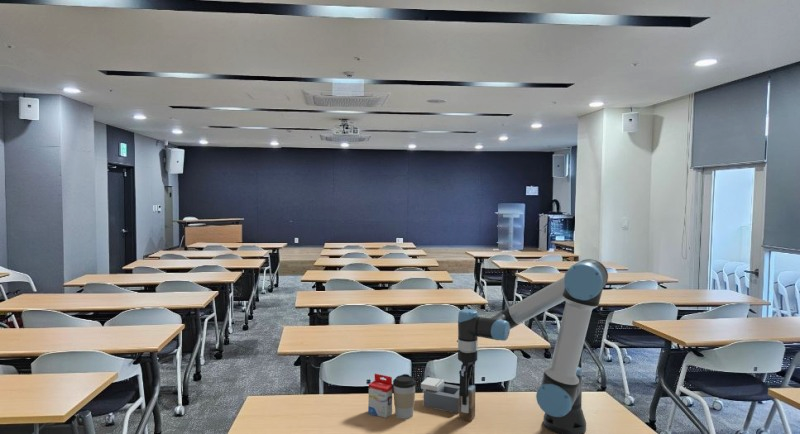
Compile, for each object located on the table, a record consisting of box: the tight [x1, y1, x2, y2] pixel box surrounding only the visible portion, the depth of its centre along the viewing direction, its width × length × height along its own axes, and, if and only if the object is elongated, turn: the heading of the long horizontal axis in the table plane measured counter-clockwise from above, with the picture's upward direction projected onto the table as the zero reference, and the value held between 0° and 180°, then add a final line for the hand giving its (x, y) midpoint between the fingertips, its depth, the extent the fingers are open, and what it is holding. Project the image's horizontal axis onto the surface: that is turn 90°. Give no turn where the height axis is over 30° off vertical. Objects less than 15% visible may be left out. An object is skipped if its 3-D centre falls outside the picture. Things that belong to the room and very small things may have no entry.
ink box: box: [367, 373, 394, 419], centre depth 182 cm, size 8×5×15 cm, turn 62°
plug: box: [458, 385, 476, 422], centre depth 179 cm, size 5×5×12 cm
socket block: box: [423, 382, 460, 414], centre depth 191 cm, size 15×12×6 cm
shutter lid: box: [420, 376, 445, 392], centre depth 193 cm, size 7×8×2 cm
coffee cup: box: [392, 373, 417, 420], centre depth 181 cm, size 9×9×15 cm
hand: (467, 409), depth 179 cm, fingers closed on plug, 5 cm apart
